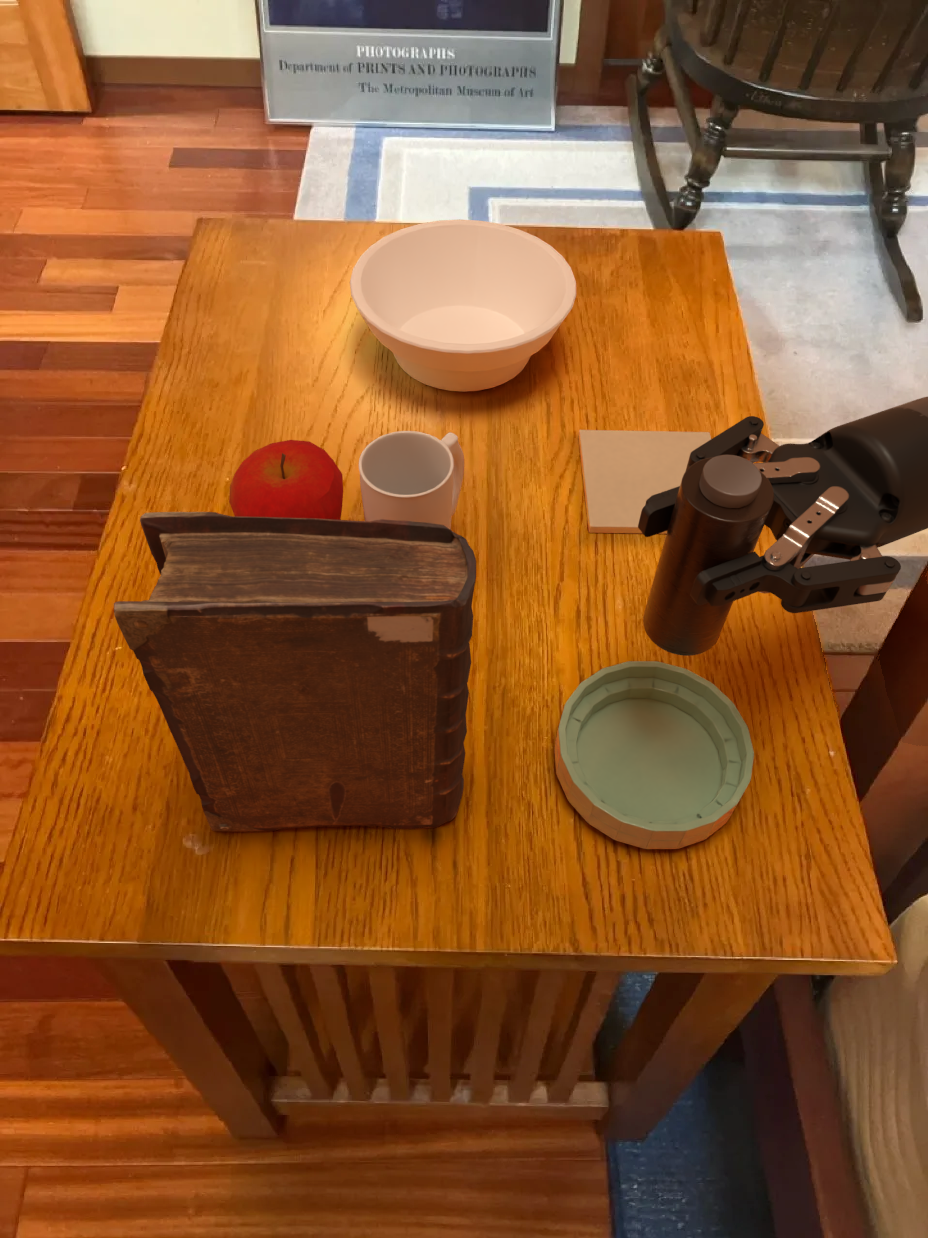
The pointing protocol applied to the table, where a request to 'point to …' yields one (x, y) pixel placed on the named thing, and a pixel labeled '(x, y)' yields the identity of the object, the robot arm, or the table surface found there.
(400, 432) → the mug
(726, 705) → the celadon bowl
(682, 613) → the thermos flask
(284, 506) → the apple
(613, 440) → the tile
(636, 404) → the table surface
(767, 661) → the table surface
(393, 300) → the bowl
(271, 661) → the book
